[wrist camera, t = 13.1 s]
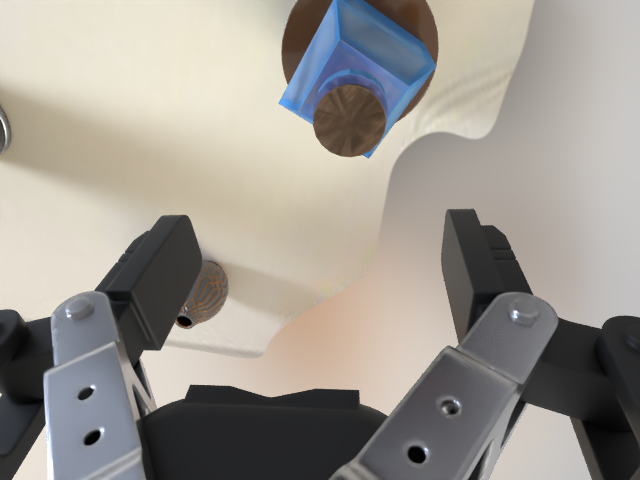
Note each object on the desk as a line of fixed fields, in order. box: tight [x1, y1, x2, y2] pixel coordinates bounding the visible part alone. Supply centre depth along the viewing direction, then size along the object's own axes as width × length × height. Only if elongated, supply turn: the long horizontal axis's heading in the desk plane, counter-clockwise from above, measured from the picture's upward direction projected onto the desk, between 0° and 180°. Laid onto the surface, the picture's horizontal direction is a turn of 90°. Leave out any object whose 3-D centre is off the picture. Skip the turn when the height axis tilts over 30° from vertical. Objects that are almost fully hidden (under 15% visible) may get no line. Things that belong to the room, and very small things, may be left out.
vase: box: [175, 261, 228, 329], centre depth 50 cm, size 7×7×9 cm
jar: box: [282, 0, 438, 123], centre depth 31 cm, size 10×10×10 cm
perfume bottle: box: [279, 0, 436, 159], centre depth 22 cm, size 6×6×12 cm
